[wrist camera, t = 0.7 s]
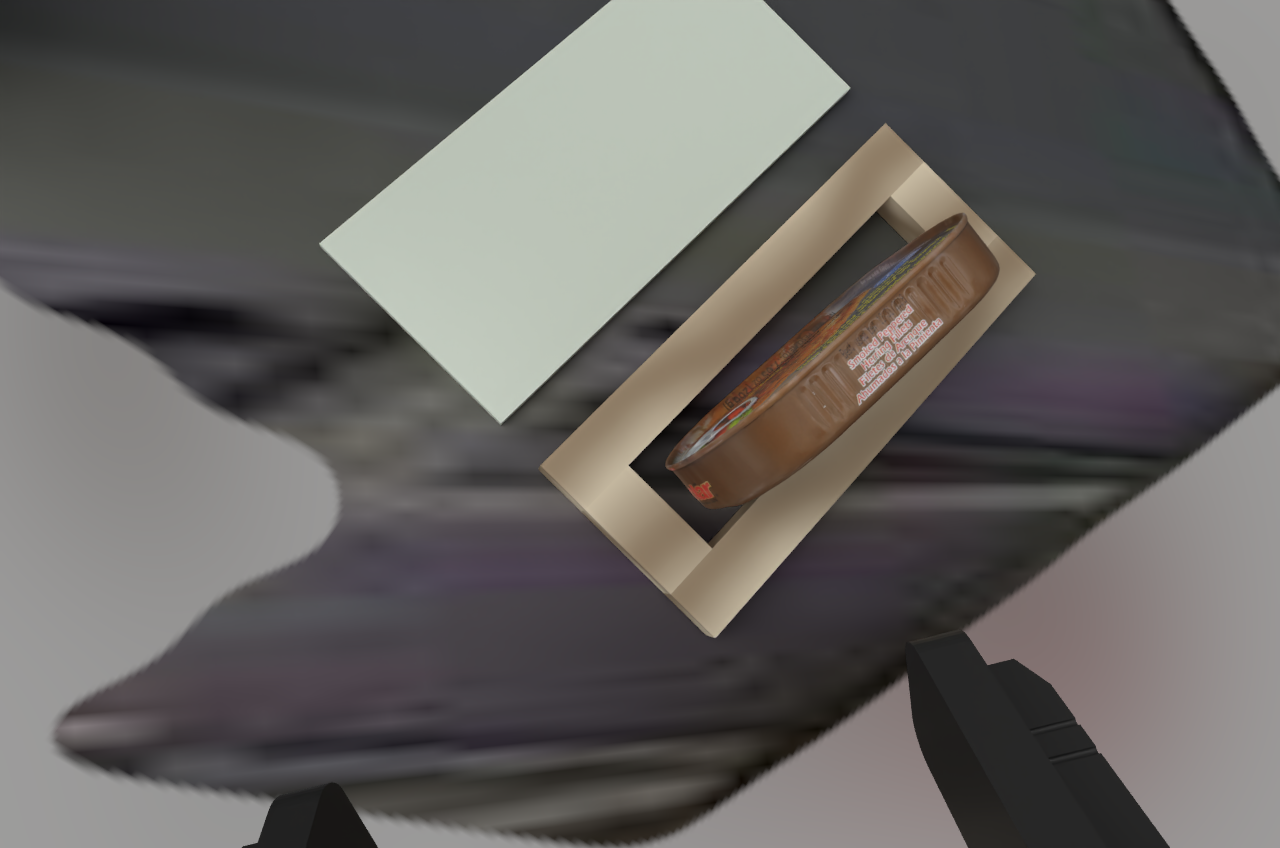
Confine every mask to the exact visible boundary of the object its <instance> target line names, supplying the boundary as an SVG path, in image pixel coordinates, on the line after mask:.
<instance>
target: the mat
mask: <svg viewBox="0 0 1280 848" xmlns="http://www.w3.org/2000/svg"><path fill="white" fill-rule="evenodd" d="M849 89H850V87H849V86H848V85H847V84H846V83H845V82H844V81H843V80H842V79H841V78H840V77H839V76H838V75H837V74H836V73H835V72H834V71H833V70H832V69H831V68H830V67H829V66H828V65H827V64H826V63H825V62H824V61H823V60H822V59H821V58H820V57H819V56H818V55H817V54H816V53H815V52H814V51H813V50H812V49H811V48H810V47H809V46H808V45H807V44H806V43H805V42H804V41H803V40H802V39H801V38H800V37H799V36H798V35H797V34H796V33H795V32H794V31H793V30H792V29H791V28H790V27H789V26H788V25H787V24H786V23H785V22H784V21H783V20H782V19H781V18H780V17H779V16H778V15H777V14H776V13H775V12H774V11H773V10H772V9H771V8H770V7H769V6H768V5H767V4H766V3H765V2H764V1H763V0H611V1H610V2H609V3H608V4H607V5H605V6H604V7H603V8H602V9H601V10H599V11H598V12H597V13H596V14H595V15H593V16H592V17H591V18H590V19H589V20H587V21H586V22H585V23H584V24H583V25H581V26H580V27H579V28H578V29H577V30H575V31H574V32H573V33H572V34H571V35H569V36H568V37H567V38H566V39H565V40H563V41H562V42H561V43H560V44H558V45H557V46H556V47H555V48H554V49H552V50H551V51H550V52H549V53H548V54H546V55H545V56H544V57H543V58H542V59H540V60H539V61H538V62H537V63H536V64H534V65H533V66H532V67H531V68H530V69H528V70H527V71H526V72H525V73H524V74H522V75H521V76H520V77H519V78H518V79H516V80H515V81H514V82H513V83H512V84H510V85H509V86H508V87H507V88H506V89H504V90H503V91H502V92H501V93H500V94H498V95H497V96H496V97H495V98H494V99H492V100H491V101H490V102H489V103H488V104H486V105H485V106H484V107H483V108H482V109H480V110H479V111H478V112H477V113H476V114H474V115H473V116H472V117H471V118H470V119H468V120H467V121H466V122H465V123H464V124H462V125H461V126H460V127H459V128H458V129H456V130H455V131H454V132H453V133H452V134H450V135H449V136H448V137H447V138H446V139H444V140H443V141H442V142H441V143H440V144H438V145H437V146H436V147H435V148H434V149H432V150H431V151H430V152H429V153H428V154H426V155H425V156H424V157H423V158H422V159H420V160H419V161H418V162H417V163H416V164H414V165H413V166H412V167H411V168H410V169H408V170H407V171H406V172H405V173H403V174H402V175H401V176H400V177H399V178H397V179H396V180H395V181H394V182H393V183H391V184H390V185H389V186H388V187H387V188H385V189H384V190H383V191H382V192H381V193H379V194H378V195H377V196H376V197H375V198H373V199H372V200H371V201H370V202H369V203H367V204H366V205H365V206H364V207H363V208H361V209H360V210H359V211H358V212H357V213H355V214H354V215H353V216H352V217H351V218H349V219H348V220H347V221H346V222H345V223H343V224H342V225H341V226H340V227H339V228H337V229H336V230H335V231H334V232H333V233H331V234H330V235H329V236H328V237H327V238H325V239H324V240H323V241H322V242H321V243H319V245H320V246H321V248H322V249H323V250H324V251H325V252H326V253H327V254H328V255H329V256H330V257H331V258H332V259H333V260H334V261H335V262H336V263H337V264H338V265H339V266H340V267H341V268H342V269H343V270H344V271H345V272H346V273H347V274H348V275H349V276H350V277H351V278H352V279H353V280H354V281H355V282H356V283H357V284H358V285H359V286H360V287H361V288H362V289H363V290H364V291H365V292H366V293H367V294H368V295H369V296H370V297H371V298H372V299H373V300H374V301H375V302H376V303H377V304H378V305H379V306H380V307H382V308H383V309H384V310H385V311H386V312H387V313H388V314H389V315H390V316H391V317H392V318H393V319H394V320H395V321H396V322H397V323H398V324H399V325H400V326H401V327H402V328H403V329H404V330H405V331H406V332H407V333H408V334H409V335H410V336H411V337H412V338H413V339H414V340H415V341H416V342H417V343H418V344H419V345H420V346H421V347H422V348H423V349H424V350H425V351H426V352H427V353H428V354H429V355H430V356H431V357H432V358H433V359H434V360H435V361H436V362H437V363H438V364H439V365H440V366H441V367H442V368H443V369H444V370H445V371H446V372H447V373H448V374H449V375H450V376H451V377H452V378H453V379H454V380H455V381H456V382H457V383H458V384H459V385H460V386H461V387H462V388H463V389H464V390H466V391H467V392H468V393H469V394H470V395H471V396H472V397H473V398H474V399H475V400H476V401H477V402H478V403H479V404H480V405H481V406H482V407H483V408H484V409H485V410H486V411H487V412H488V413H489V414H490V415H491V416H492V417H493V418H494V419H495V420H496V421H497V422H498V423H499V424H500V425H502V424H503V423H504V422H505V421H506V420H507V419H508V418H509V417H510V416H511V415H512V414H513V413H514V412H515V411H516V410H517V409H518V408H520V407H521V406H522V405H523V404H524V403H525V402H526V401H527V400H528V399H529V398H530V397H531V396H532V395H533V394H534V393H535V392H536V391H537V390H538V389H539V388H540V387H541V386H542V385H543V384H545V383H546V382H547V381H548V380H549V379H550V378H551V377H552V376H553V375H554V374H555V373H556V372H557V371H558V370H559V369H560V368H561V367H562V366H563V365H564V364H565V363H566V362H567V361H568V360H569V359H571V358H572V357H573V356H574V355H575V354H576V353H577V352H578V351H579V350H580V349H581V348H582V347H583V346H584V345H585V344H586V343H587V342H588V341H589V340H590V339H591V338H592V337H593V336H594V335H596V334H597V333H598V332H599V331H600V330H601V329H602V328H603V327H604V326H605V325H606V324H607V323H608V322H609V321H610V320H611V319H612V318H613V317H614V316H615V315H616V314H617V313H618V312H619V311H620V310H622V309H623V308H624V307H625V306H626V305H627V304H628V303H629V302H630V301H631V300H632V299H633V298H634V297H635V296H636V295H637V294H638V293H639V292H640V291H641V290H642V289H643V288H644V287H645V286H647V285H648V284H649V283H650V282H651V281H652V280H653V279H654V278H655V277H656V276H657V275H658V274H659V273H660V272H661V271H662V270H663V269H664V268H665V267H666V266H667V265H668V264H669V263H670V262H671V261H673V260H674V259H675V258H676V257H677V256H678V255H679V254H680V253H681V252H682V251H683V250H684V249H685V248H686V247H687V246H688V245H689V244H690V243H691V242H692V241H693V240H694V239H695V238H696V237H698V236H699V235H700V234H701V233H702V232H703V231H704V230H705V229H706V228H707V227H708V226H709V225H710V224H711V223H712V222H713V221H714V220H715V219H716V218H717V217H718V216H719V215H720V214H721V213H722V212H724V211H725V210H726V209H727V208H728V207H729V206H730V205H731V204H732V203H733V202H734V201H735V200H736V199H737V198H738V197H739V196H740V195H741V194H742V193H743V192H744V191H745V190H746V189H747V188H749V187H750V186H751V185H752V184H753V183H754V182H755V181H756V180H757V179H758V178H759V177H760V176H761V175H762V174H763V173H764V172H765V171H766V170H767V169H768V168H769V167H770V166H771V165H772V164H773V163H775V162H776V161H777V160H778V159H779V158H780V157H781V156H782V155H783V154H784V153H785V152H786V151H787V150H788V149H789V148H790V147H791V146H792V145H793V144H794V143H795V142H796V141H797V140H798V139H800V138H801V137H802V136H803V135H804V134H805V133H806V132H807V131H808V130H809V129H810V128H811V127H812V126H813V125H814V124H815V123H816V122H817V121H818V120H819V119H820V118H821V117H822V116H823V115H824V114H826V113H827V112H828V111H829V110H830V109H831V108H832V107H833V106H834V105H835V104H836V103H837V102H838V101H839V100H840V99H841V98H842V97H843V96H844V95H845V94H846V93H847V92H848V90H849Z"/></svg>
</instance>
